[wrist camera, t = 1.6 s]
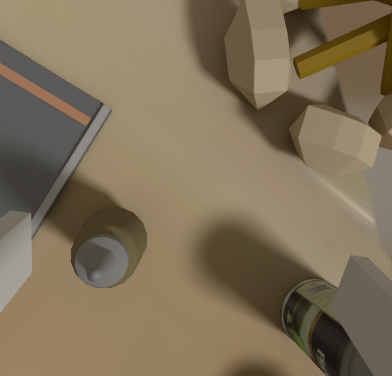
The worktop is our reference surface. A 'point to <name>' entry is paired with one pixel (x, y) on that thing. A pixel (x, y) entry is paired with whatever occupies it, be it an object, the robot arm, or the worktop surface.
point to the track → (40, 134)
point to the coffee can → (320, 329)
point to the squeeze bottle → (108, 247)
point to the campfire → (306, 65)
